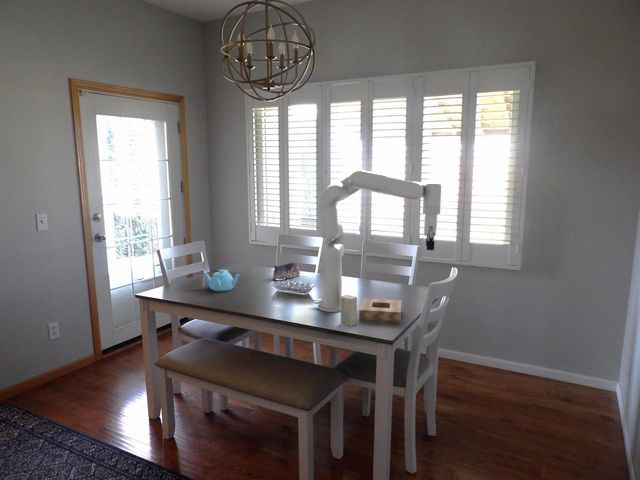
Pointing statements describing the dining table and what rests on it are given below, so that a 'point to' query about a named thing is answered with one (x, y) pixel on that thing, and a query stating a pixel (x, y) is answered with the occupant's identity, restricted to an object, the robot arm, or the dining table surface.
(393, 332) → the dining table surface
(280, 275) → the geode
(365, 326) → the dining table surface
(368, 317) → the socket block
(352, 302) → the skincare box
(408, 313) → the dining table surface
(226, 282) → the teapot
